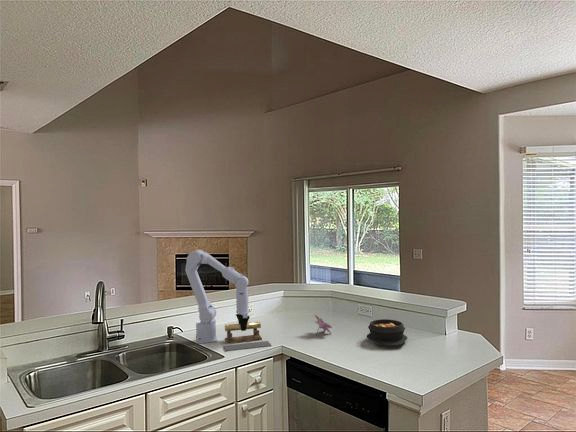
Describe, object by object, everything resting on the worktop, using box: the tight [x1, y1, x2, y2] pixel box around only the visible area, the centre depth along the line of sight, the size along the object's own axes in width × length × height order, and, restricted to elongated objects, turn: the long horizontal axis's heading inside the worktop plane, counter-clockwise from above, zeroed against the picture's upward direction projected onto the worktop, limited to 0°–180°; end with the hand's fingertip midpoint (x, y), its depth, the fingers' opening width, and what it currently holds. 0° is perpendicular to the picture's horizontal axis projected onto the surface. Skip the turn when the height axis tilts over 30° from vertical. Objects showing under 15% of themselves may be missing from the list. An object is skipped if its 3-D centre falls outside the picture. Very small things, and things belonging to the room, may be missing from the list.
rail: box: [224, 321, 262, 332], centre depth 203 cm, size 17×3×3 cm, turn 106°
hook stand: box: [224, 328, 263, 345], centre depth 203 cm, size 17×6×6 cm, turn 106°
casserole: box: [366, 318, 408, 347], centre depth 196 cm, size 25×19×8 cm
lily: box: [313, 313, 333, 336], centre depth 210 cm, size 12×12×10 cm
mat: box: [222, 340, 272, 352], centre depth 193 cm, size 21×7×1 cm, turn 106°
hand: (242, 329), depth 203 cm, fingers closed on rail, 3 cm apart
